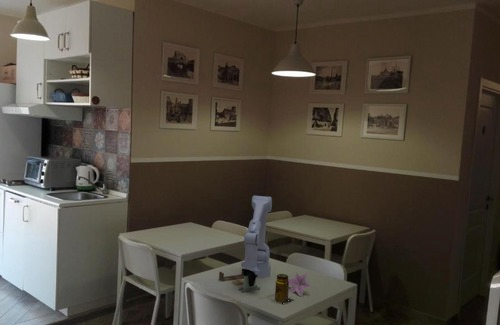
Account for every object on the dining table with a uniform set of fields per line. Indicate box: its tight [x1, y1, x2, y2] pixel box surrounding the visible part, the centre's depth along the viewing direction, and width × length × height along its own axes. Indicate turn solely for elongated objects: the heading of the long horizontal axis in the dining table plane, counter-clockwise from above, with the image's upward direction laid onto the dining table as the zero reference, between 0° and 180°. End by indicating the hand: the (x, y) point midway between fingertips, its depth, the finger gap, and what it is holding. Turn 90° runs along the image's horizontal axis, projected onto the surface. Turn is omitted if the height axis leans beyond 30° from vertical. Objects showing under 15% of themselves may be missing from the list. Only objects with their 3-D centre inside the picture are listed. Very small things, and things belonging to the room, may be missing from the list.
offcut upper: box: [231, 279, 244, 286], centre depth 226 cm, size 6×4×1 cm
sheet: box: [242, 276, 257, 290], centre depth 217 cm, size 6×1×8 cm, turn 121°
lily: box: [288, 271, 312, 298], centre depth 221 cm, size 12×12×10 cm
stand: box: [238, 284, 261, 294], centre depth 217 cm, size 12×8×2 cm, turn 120°
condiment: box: [271, 273, 295, 305], centre depth 210 cm, size 7×8×12 cm
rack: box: [218, 271, 244, 282], centre depth 229 cm, size 14×14×6 cm
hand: (249, 284), depth 217 cm, fingers open, 3 cm apart
